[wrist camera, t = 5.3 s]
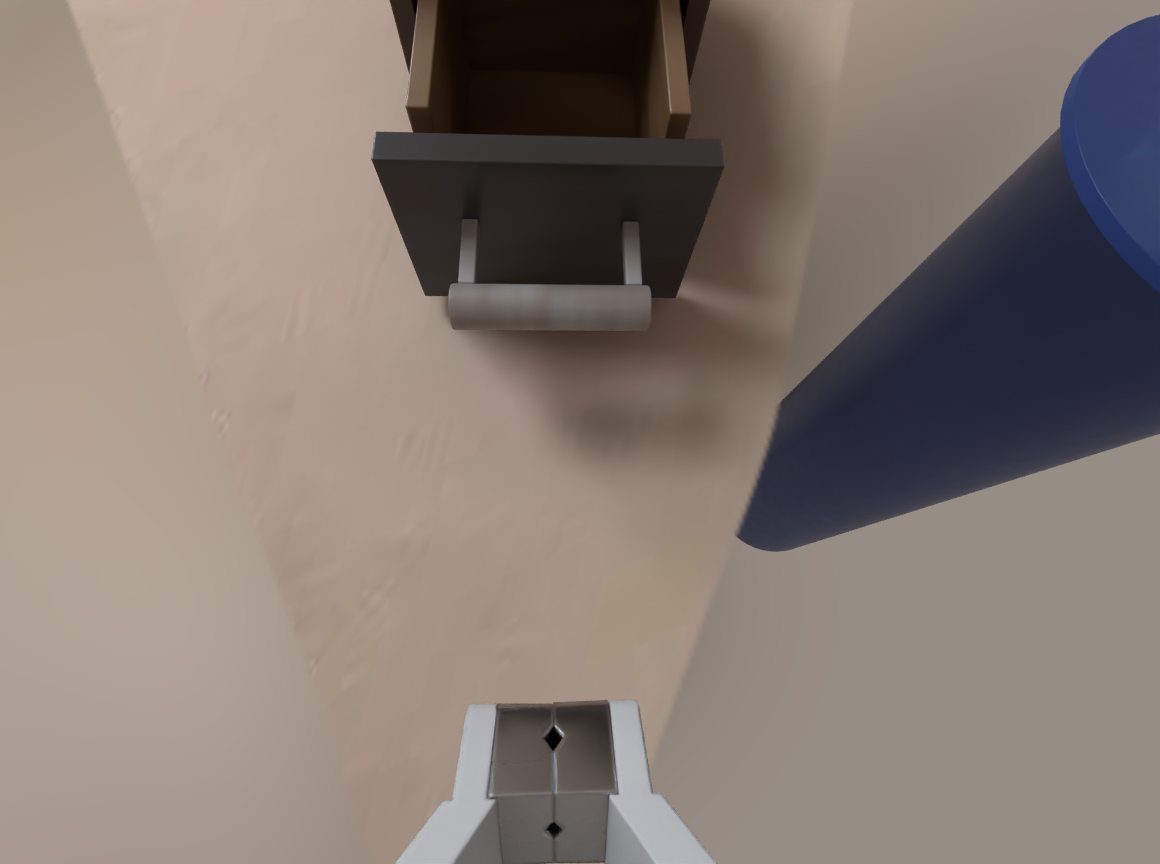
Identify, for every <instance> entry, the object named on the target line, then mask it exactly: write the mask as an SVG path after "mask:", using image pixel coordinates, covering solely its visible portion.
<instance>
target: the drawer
mask: <svg viewBox="0 0 1160 864" xmlns="http://www.w3.org/2000/svg"><path fill="white" fill-rule="evenodd" d="M406 110H407V113H408V117H409V120H410V123H411V127H412V130H413V133H410V132H375V137H374V145H373V152H372V162H373V164H374V167H375V169H376V172H377V175H378V177H379V180H380V182H381V185H382V187H383V190H384V192H385V195H386V197H387V200H388V202H389V205H390V207H391V210H392V213H393V215H394V218H395V220H396V223H397V225H398V228H399V230H400V233H401V235H402V238H403V240H404V243H405V246H406V248H407V251H408V253H409V256H410V258H411V261H412V263H413V266H414V268H415V271H416V273H417V276H418V278H419V281H420V284H421V286H422V289H423V291H424V294H425V296H448V309H449V318H450V323H451V326H452V328H453V329H455V330H577V331H647V330H648V328H649V326H650V321H651V312H652V298H676V295H677V293H678V290H679V287H680V285H681V282H682V279H683V277H684V274H685V271H686V269H687V266H688V263H689V260H690V258H691V255H692V252H693V250H694V247H695V244H696V242H697V239H698V236H699V233H700V231H701V228H702V225H703V223H704V220H705V217H706V215H707V212H708V209H709V207H710V204H711V201H712V198H713V196H714V193H715V190H716V188H717V185H718V182H719V180H720V177H721V174H722V171H723V169H724V161H723V153H722V145H721V140H713V139H685V138H686V134H687V131H688V127H689V123H690V120H691V116H692V109H691V100H690V91H689V82H688V73H687V64H686V55H685V46H684V37H683V28H682V18H681V9H680V0H418V4H417V13H416V21H415V30H414V39H413V47H412V56H411V65H410V73H409V82H408V91H407V99H406Z"/></svg>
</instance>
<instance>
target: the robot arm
mask: <svg viewBox="0 0 1160 864" xmlns="http://www.w3.org/2000/svg"><path fill="white" fill-rule="evenodd" d="M601 862H605V864H717V863H716V862H715V860H714V859H713V858H712V856H711V855H710V854H709V853H708V851H707V850H706V849H705V848H704V846H703V845H702V844H701V843H700V841H699V840H698V839H697V837H696V836H695V835H694V834H693V832H692V831H691V830H690V829H689V827H688V826H687V825H686V824H685V822H684V821H683V820H682V819H681V817H680V816H679V815H678V813H677V812H676V811H675V810H674V808H673V807H672V806H671V805H670V803H669V802H668V801H667V800H666V798H665V797H664V796H663V795H662V794H661V793H653V791H652V784H651V778H650V771H649V765H648V759H647V753H646V746H645V740H644V734H643V728H642V721H641V715H640V709H639V705H638V703H637V701H636V700H621V701H609V702H608V701H607V700H599V701H575V702H553V704H469V707H468V710H467V712H466V717H465V723H464V730H463V736H462V742H461V748H460V754H459V761H458V767H457V773H456V779H455V785H454V792H453V798H452V800H447V801H443V802H442V803H441V804H440V806H439V807H438V808H437V810H436V811H435V812H434V813H433V815H432V816H431V817H430V819H429V820H428V821H427V823H426V824H425V825H424V827H423V828H422V829H421V830H420V832H419V833H418V834H417V836H416V837H415V838H414V840H413V841H412V842H411V843H410V845H409V846H408V847H407V849H406V850H405V851H404V853H403V854H402V855H401V856H400V858H399V859H398V860H397V862H396V863H395V864H545V863H601Z"/></svg>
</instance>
